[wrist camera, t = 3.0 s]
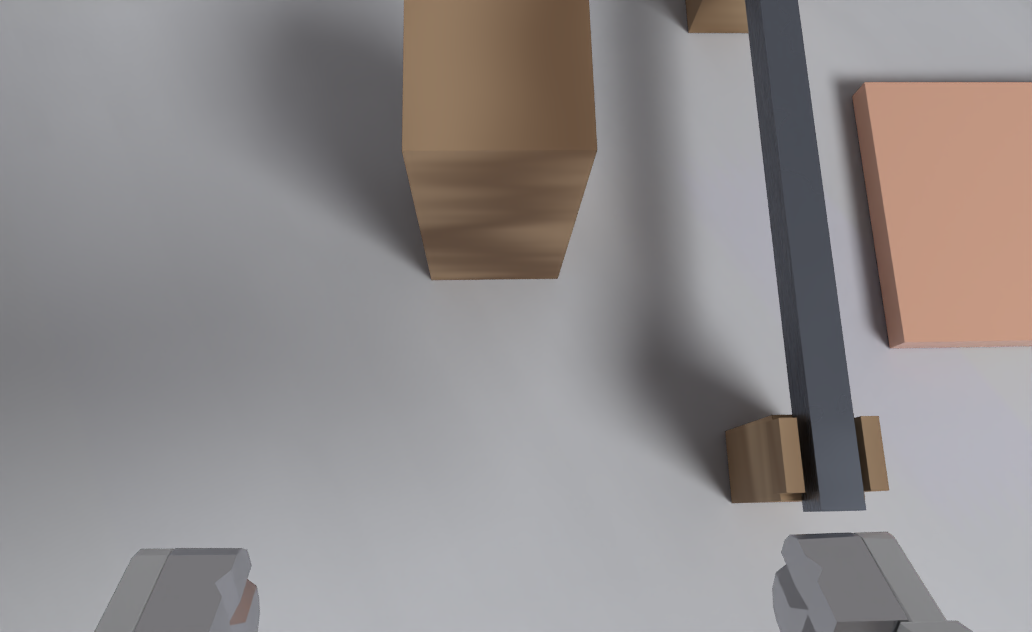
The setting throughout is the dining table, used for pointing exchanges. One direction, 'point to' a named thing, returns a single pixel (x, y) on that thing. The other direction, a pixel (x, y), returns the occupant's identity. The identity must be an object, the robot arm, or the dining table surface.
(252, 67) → the dining table surface
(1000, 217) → the coaster
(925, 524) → the dining table surface
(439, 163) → the walnut block
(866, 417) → the hurdle posts
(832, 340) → the metal bar
